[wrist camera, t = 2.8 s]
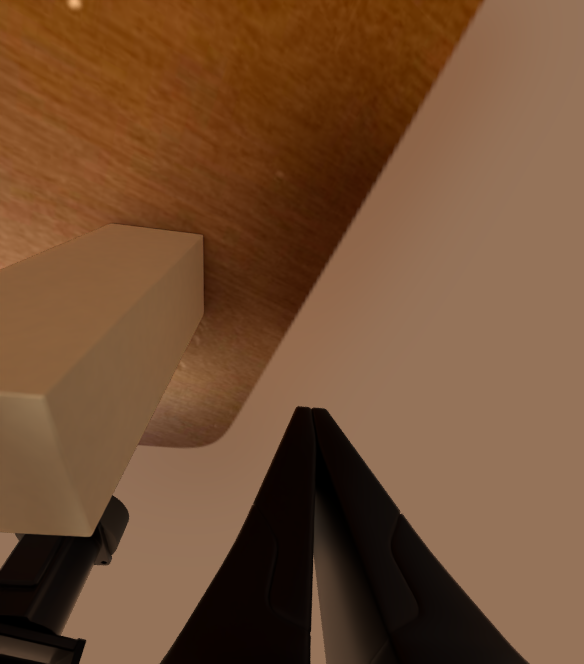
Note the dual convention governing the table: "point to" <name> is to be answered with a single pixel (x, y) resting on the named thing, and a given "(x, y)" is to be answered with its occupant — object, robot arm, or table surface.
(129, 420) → the cream block
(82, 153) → the table surface
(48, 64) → the table surface
